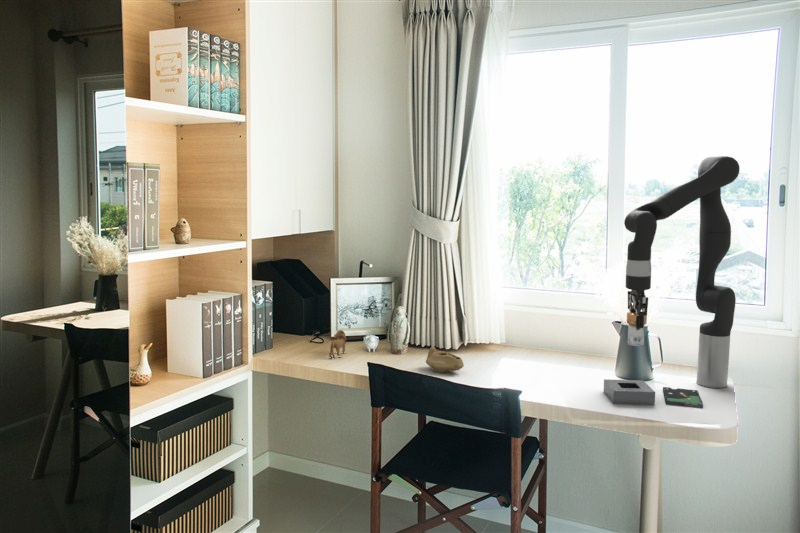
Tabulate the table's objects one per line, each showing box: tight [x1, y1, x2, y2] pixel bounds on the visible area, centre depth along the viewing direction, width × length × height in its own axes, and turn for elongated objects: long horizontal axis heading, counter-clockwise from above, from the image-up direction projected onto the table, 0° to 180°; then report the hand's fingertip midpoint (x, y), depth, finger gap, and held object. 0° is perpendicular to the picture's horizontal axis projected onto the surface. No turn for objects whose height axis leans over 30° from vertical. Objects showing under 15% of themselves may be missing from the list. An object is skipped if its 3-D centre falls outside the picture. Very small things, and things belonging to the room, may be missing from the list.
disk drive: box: [662, 386, 704, 409], centre depth 197 cm, size 10×3×15 cm
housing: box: [603, 379, 656, 406], centre depth 197 cm, size 12×12×5 cm
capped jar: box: [626, 311, 648, 347], centre depth 207 cm, size 6×6×10 cm
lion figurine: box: [328, 329, 347, 360], centre depth 251 cm, size 15×5×9 cm, turn 175°
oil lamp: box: [425, 346, 465, 373], centre depth 230 cm, size 11×15×8 cm
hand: (636, 325), depth 207 cm, fingers closed on capped jar, 6 cm apart
